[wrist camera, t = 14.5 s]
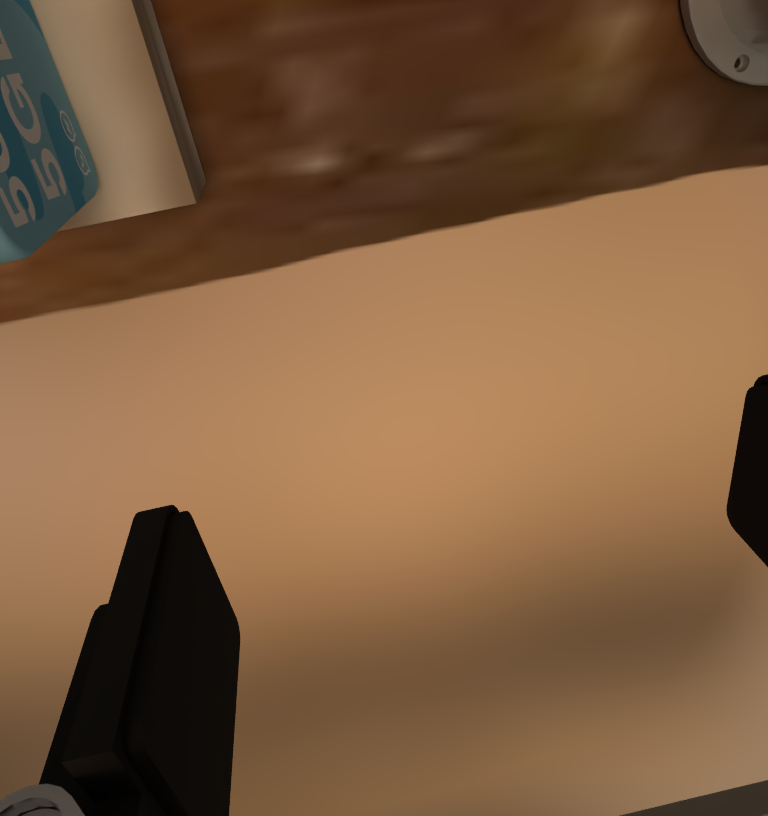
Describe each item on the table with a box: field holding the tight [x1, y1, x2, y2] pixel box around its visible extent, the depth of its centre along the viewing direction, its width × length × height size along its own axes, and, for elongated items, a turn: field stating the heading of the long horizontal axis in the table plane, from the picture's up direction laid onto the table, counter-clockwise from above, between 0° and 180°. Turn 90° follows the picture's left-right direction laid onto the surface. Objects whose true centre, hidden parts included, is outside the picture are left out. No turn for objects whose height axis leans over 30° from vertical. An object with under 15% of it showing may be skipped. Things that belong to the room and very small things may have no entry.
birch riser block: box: [29, 0, 206, 232], centre depth 29 cm, size 13×15×5 cm
